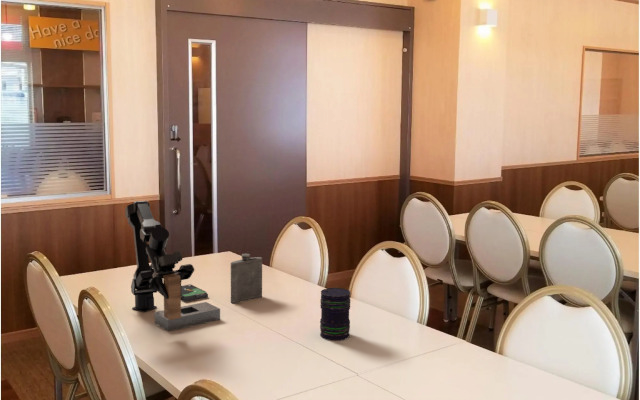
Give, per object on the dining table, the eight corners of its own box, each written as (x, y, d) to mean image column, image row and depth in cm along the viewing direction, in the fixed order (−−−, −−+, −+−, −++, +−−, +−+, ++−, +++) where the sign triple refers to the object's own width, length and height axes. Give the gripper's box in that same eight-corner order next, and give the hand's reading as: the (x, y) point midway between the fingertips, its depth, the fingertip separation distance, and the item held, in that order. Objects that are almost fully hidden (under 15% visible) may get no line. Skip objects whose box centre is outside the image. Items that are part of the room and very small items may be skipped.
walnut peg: (164, 316, 221) (163, 275, 218) (175, 314, 223) (174, 273, 221) (169, 320, 217) (168, 278, 215) (180, 317, 220) (180, 276, 218)
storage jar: (353, 332, 226) (354, 289, 224) (344, 342, 217) (345, 297, 215) (325, 329, 230) (326, 286, 227) (315, 338, 220) (316, 294, 218)
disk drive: (167, 294, 269) (184, 303, 257) (167, 288, 268) (184, 296, 257) (190, 290, 275) (208, 298, 264) (190, 283, 275) (208, 291, 263)
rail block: (154, 323, 233) (154, 312, 232) (206, 312, 245) (205, 301, 245) (168, 331, 225) (167, 319, 225) (220, 319, 238) (220, 308, 237)
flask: (228, 302, 258) (227, 256, 256) (257, 295, 268) (257, 250, 265) (233, 304, 256) (233, 257, 253) (263, 297, 265) (263, 252, 263)
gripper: (138, 247, 214) (154, 289, 207) (191, 240, 225) (208, 279, 219) (129, 266, 221) (144, 307, 214) (180, 258, 233) (196, 297, 226)
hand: (174, 297), depth 218 cm, fingers closed on walnut peg, 4 cm apart
